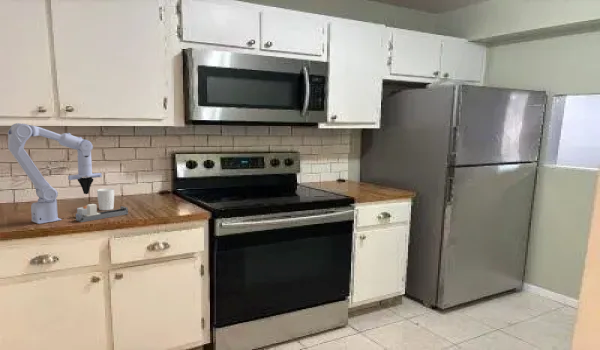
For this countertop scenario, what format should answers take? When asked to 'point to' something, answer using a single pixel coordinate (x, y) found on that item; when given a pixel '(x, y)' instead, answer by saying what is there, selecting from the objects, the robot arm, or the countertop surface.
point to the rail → (103, 214)
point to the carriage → (91, 210)
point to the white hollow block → (82, 211)
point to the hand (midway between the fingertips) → (86, 193)
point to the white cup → (105, 199)
